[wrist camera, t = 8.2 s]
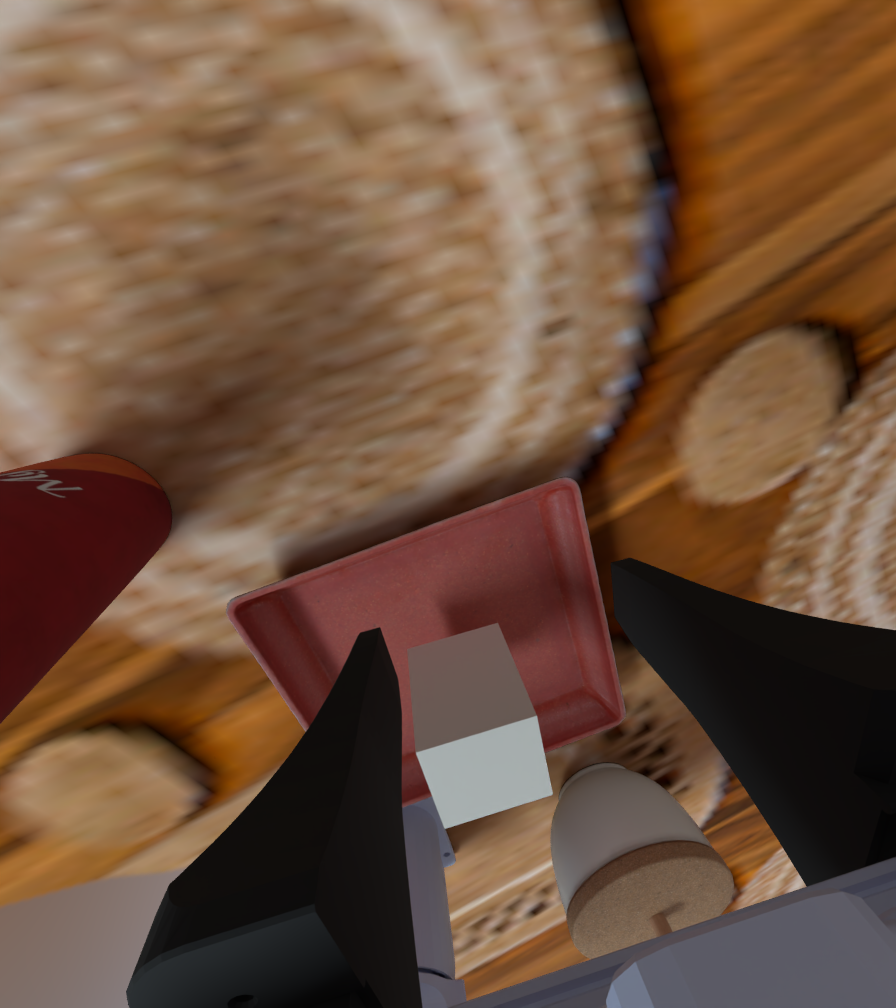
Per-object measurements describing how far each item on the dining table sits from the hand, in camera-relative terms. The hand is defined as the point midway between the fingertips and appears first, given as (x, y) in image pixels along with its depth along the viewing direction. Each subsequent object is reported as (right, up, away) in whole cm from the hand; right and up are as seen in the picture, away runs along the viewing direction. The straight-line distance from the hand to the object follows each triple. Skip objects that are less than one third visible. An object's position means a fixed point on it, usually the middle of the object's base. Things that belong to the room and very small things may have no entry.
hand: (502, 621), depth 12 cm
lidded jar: (+10, -19, +20) cm, 30 cm away
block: (-1, -6, +10) cm, 12 cm away
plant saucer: (-2, -5, +14) cm, 15 cm away
